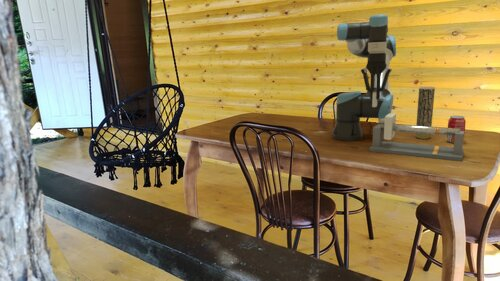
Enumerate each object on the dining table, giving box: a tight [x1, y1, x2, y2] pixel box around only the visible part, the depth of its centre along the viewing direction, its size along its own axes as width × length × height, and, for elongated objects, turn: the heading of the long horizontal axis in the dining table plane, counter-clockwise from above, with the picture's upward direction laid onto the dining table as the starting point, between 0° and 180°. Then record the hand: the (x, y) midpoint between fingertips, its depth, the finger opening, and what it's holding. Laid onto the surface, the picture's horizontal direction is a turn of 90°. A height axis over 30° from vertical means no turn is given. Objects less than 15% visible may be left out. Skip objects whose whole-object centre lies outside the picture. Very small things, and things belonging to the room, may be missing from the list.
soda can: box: [446, 115, 466, 144], centre depth 168 cm, size 7×7×12 cm
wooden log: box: [415, 86, 436, 140], centre depth 176 cm, size 7×7×25 cm
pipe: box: [377, 122, 460, 136], centre depth 155 cm, size 32×3×3 cm, turn 59°
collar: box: [383, 112, 397, 141], centre depth 160 cm, size 3×9×10 cm, turn 149°
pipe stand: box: [368, 124, 465, 162], centre depth 156 cm, size 36×14×10 cm, turn 59°
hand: (374, 106), depth 161 cm, fingers closed
